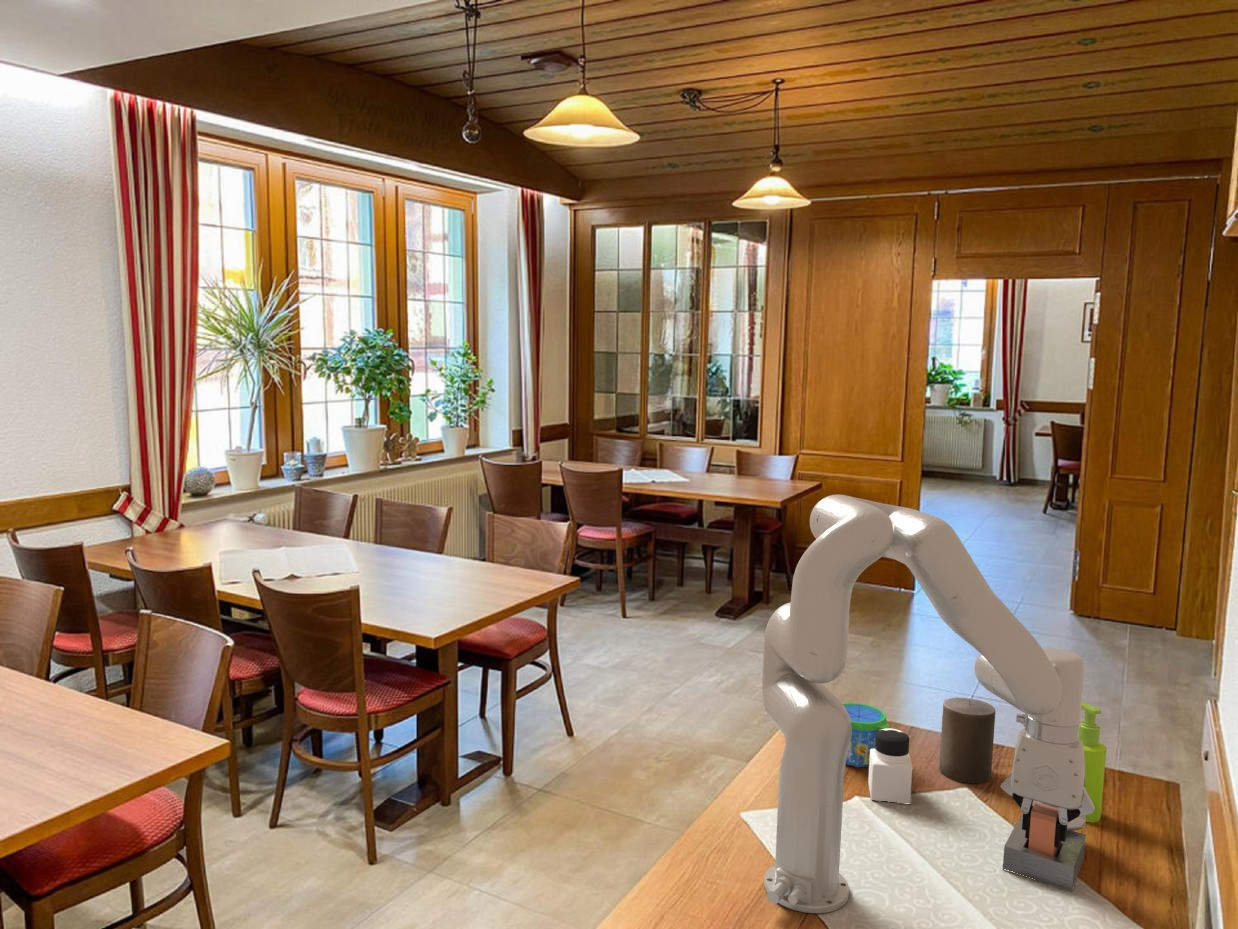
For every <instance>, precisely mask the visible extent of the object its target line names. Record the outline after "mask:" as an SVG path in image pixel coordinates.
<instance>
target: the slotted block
mask: <svg viewBox="0 0 1238 929" xmlns="http://www.w3.org/2000/svg"><path fill="white" fill-rule="evenodd" d="M1036 802H1037V803H1041V804H1045V805H1048V806H1052V807H1056V808H1058V807H1057V806H1053V805H1050V804H1046V803H1042V802H1039V801H1035V800H1033V804H1032V806H1033V807H1034V805H1035V803H1036ZM1022 820H1023V815H1021V816H1020V815H1019V817H1018V819H1017V822H1016V823H1015V825H1014V826H1013V829H1012V831H1011V833H1010V835H1009V836H1008V838H1007V840H1006V842H1005V844H1004V846H1003V847H1004V848H1003V858H1002V859H1003V860H1002V861H1003V862H1002V870H1003V869H1006V870H1009V871H1013V872H1015V873H1018V874H1021V875H1024V876H1027V877H1030V878H1033V879H1035V880H1034V881H1037V882H1040V883H1043V884H1047V885H1050V886H1053V887H1056V888H1059V889H1062V890H1065V891H1069V892H1073V891H1074V887H1075V884H1076V881H1077V879H1078V876H1079V873H1080V871H1081V867H1082V865H1083V862H1084V859H1085V849H1086V838H1087V837H1086V836H1087V835H1086V833H1082V832H1081V833H1080V832H1078V831H1079V830H1081V829H1084V828H1085V826H1086V822H1085V820H1086V817H1085V815H1083V816H1082V815H1081V816H1079V817H1077V818H1075V819H1074V820H1072V821H1070V822H1068V823H1067V834H1066V840H1065V842H1063V841H1061V843H1060V846H1059V848H1057V854H1056V856H1051V855H1048V854H1045V853H1041V852H1038V851H1035V850H1032V849H1028V846H1029V839H1027V838H1025V832H1026V830H1022ZM1015 873H1014V874H1015ZM1018 874H1017V875H1018ZM1021 875H1020V876H1021ZM1024 876H1023V877H1024ZM1027 877H1026V878H1027ZM1030 878H1029V879H1030ZM1033 879H1032V880H1033Z"/></svg>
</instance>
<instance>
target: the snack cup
mask: <svg viewBox="0 0 1238 929" xmlns="http://www.w3.org/2000/svg"><path fill="white" fill-rule="evenodd" d="M842 704H843V705H844V707H845V708H846V710H847V712H848V714H849V717H850V720H851V725H852V736H851V742H850V746H849V750H848V754H847V758H846V764H845V765H848V766H853V767H855V768H857V769H858V768H861V767H862V768H867V767H868V768H869V759H870V749H875V734H876V732H877V731H879V730H881V729H887V728H891V729H893V728H892V727H891V725H890V724H889V722H888V721H887V714H886V713H885V712H884V711H883V710H882V709H880V708H878V707H875V706H874V705H873V706H872V705H870V704H864V703H858V702H847V703H846V702H844V703H842Z"/></svg>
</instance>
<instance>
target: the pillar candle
mask: <svg viewBox="0 0 1238 929" xmlns="http://www.w3.org/2000/svg"><path fill="white" fill-rule="evenodd" d="M995 723H996V708H995V707H994V706H993V705H992V704H990V703H988V702H985V701H983V700H980V699H979V700H978V699H975V698H970V697H969V698H967V697H951V698H947V699H944V700H943V704H942V718H941V732H940V744H939V746H940V748H939V757H938V758H939V759H938V760H939V761H938V763H939V764H938V768H939V769H938V770H939V771H940V773H941V774H943V775H944V776H946V777H948V778H950V779H951V780H954V781H957V782H961V783H965V784H966V783H967V784H985V783H987V782H989V781H990V780H991V778H992V770H993V769H992V767H993V756H994V755H993V753H994V740H995V727H996V726H995Z"/></svg>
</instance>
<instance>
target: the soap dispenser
mask: <svg viewBox="0 0 1238 929" xmlns="http://www.w3.org/2000/svg"><path fill="white" fill-rule="evenodd" d="M1081 710H1083V711H1084V719H1083V721H1080V728H1079V739H1080V740H1081V741H1082V743H1083V748H1084V757H1085V789H1086V791H1087V793H1088V795H1089V797H1090V799H1091V801H1092V802H1093V804H1094V806H1095V810H1094V812H1093V813H1092V814H1087V815H1085V817H1086V820H1085V823H1097V822H1099V821H1100V820H1101V816H1102V806H1103V805H1102V804H1103V794H1104V782H1105V781H1104V780H1105V771H1106V770H1105V768H1106V759H1107V758H1106V756H1107V746H1106V745H1105V744H1104V743H1102V742H1100V732H1101V726H1100V725H1098V724H1097V723H1096V716H1097V715H1100V714H1102V710H1101V709H1100V708H1098V707H1096V706H1094V705H1093V704H1090V703H1088V702H1085V701H1082V703H1081ZM1081 805H1082V803H1081Z"/></svg>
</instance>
